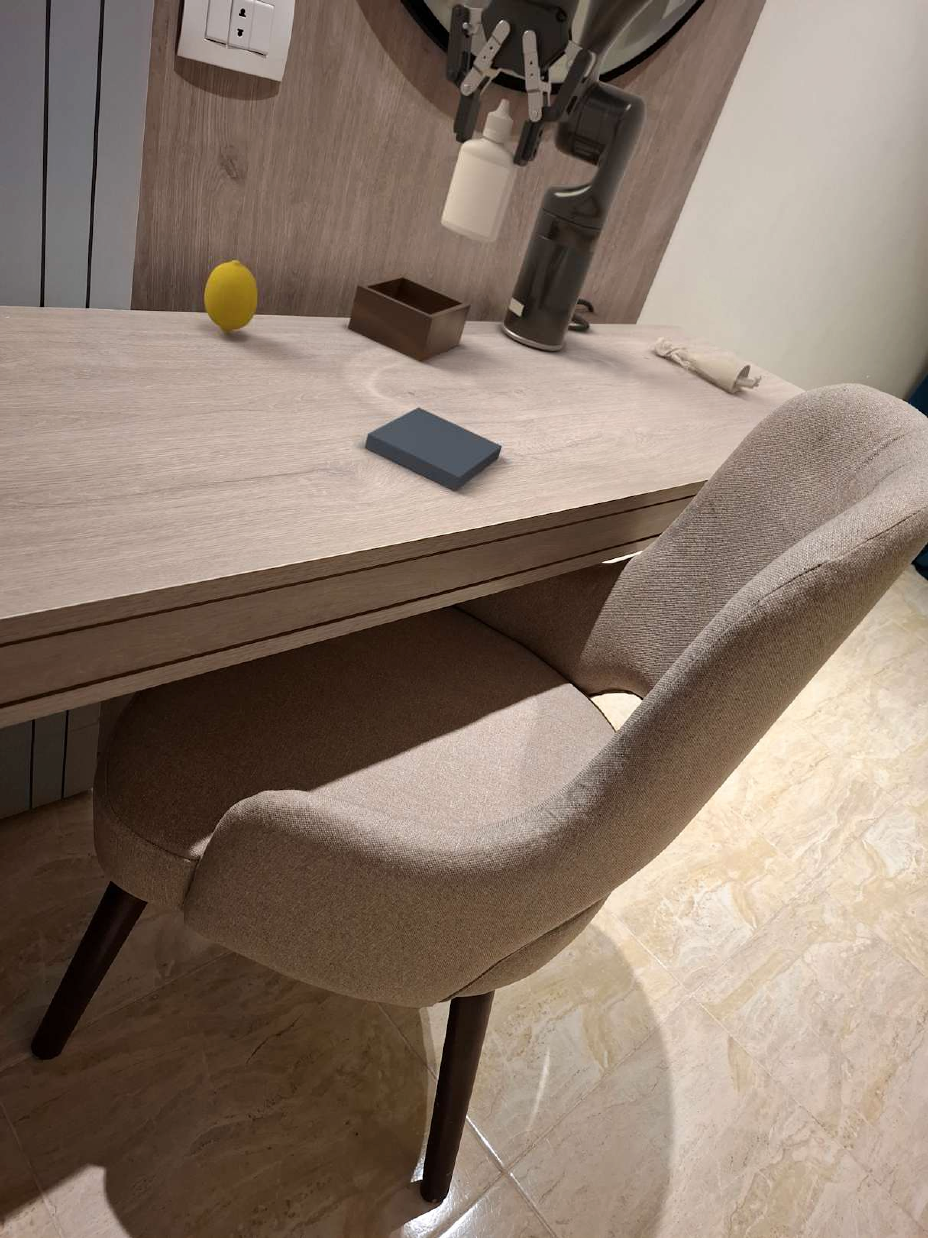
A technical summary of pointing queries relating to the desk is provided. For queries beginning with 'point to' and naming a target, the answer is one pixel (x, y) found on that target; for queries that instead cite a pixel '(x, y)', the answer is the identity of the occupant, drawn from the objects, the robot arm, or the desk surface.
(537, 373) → the desk surface
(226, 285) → the lemon
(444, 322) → the box
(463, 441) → the block
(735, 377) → the woman figurine
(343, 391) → the desk surface
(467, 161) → the eye dropper bottle
